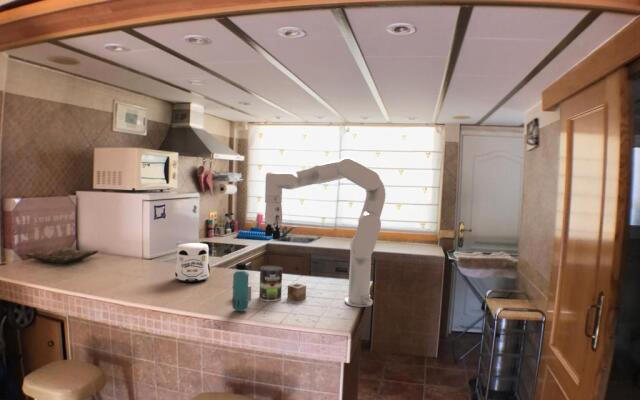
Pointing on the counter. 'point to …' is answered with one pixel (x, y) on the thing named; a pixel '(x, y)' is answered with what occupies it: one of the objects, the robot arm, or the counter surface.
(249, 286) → the grey dotted block
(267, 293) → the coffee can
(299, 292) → the walnut dotted block
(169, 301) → the counter surface
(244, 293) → the beverage bottle
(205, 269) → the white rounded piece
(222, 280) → the counter surface
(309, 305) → the counter surface
